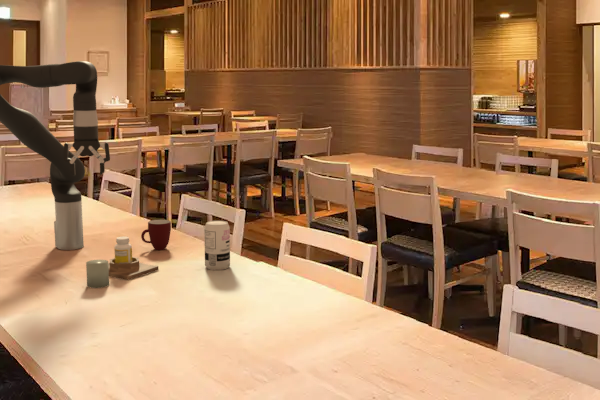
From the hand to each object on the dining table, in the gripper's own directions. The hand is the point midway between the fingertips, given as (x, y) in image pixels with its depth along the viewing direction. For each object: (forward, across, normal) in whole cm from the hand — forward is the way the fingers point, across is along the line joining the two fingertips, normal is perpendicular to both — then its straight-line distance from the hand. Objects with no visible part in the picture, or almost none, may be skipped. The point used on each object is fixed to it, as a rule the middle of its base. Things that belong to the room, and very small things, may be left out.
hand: (87, 174), depth 229 cm
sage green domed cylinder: (+30, +3, -24) cm, 39 cm away
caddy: (+30, +11, -11) cm, 34 cm away
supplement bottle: (+29, +10, -10) cm, 33 cm away
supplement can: (+30, +40, -12) cm, 52 cm away
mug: (+30, +22, +16) cm, 41 cm away
